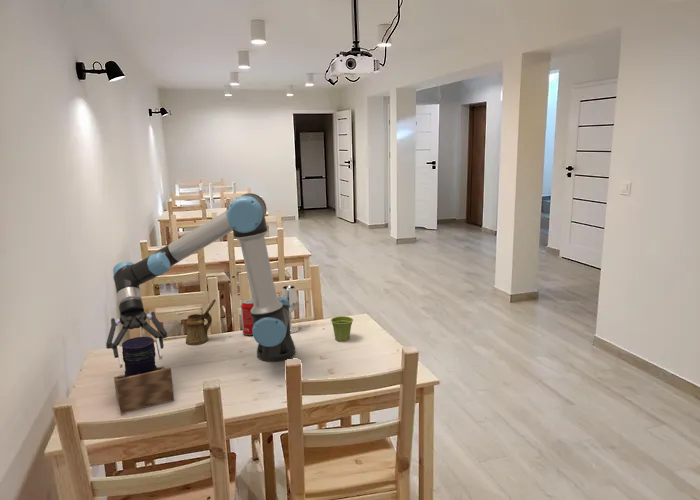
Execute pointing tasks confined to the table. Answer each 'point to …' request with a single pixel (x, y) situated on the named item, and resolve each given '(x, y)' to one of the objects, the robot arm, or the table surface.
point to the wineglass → (291, 301)
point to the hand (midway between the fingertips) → (141, 361)
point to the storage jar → (139, 356)
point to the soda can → (247, 316)
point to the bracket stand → (144, 389)
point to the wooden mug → (198, 327)
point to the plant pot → (342, 327)
